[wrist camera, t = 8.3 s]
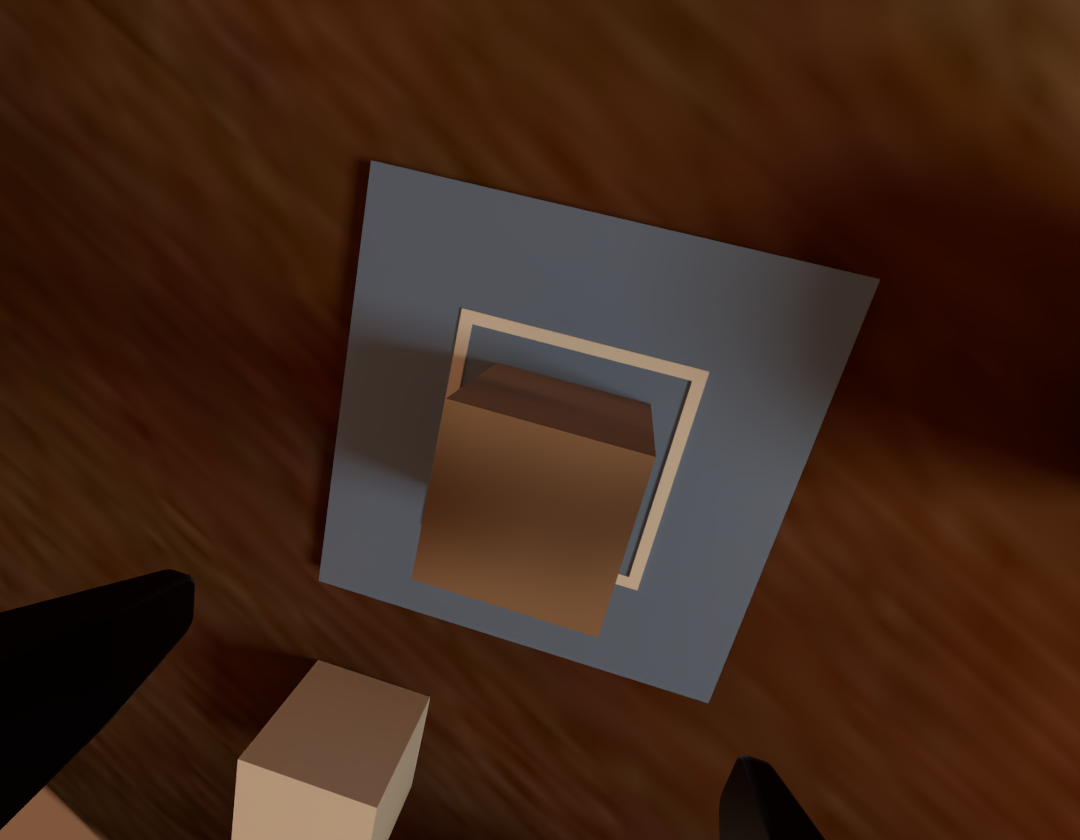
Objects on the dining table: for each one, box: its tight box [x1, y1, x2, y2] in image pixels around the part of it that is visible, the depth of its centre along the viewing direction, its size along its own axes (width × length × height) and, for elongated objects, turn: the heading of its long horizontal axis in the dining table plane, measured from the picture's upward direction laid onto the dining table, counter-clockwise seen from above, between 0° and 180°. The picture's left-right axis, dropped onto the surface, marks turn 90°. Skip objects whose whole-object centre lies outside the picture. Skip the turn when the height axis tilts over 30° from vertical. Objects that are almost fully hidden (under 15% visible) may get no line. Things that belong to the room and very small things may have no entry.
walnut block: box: [412, 363, 656, 637], centre depth 16 cm, size 5×5×5 cm
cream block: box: [231, 660, 430, 840], centre depth 21 cm, size 5×5×5 cm
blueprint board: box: [319, 160, 880, 703], centre depth 18 cm, size 15×15×1 cm
